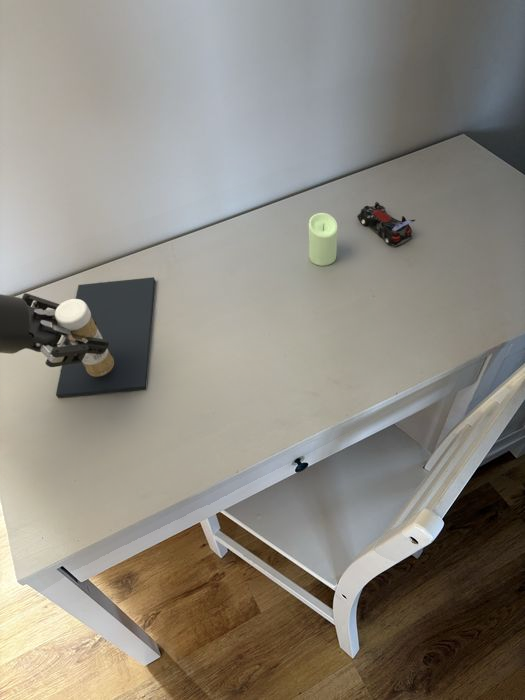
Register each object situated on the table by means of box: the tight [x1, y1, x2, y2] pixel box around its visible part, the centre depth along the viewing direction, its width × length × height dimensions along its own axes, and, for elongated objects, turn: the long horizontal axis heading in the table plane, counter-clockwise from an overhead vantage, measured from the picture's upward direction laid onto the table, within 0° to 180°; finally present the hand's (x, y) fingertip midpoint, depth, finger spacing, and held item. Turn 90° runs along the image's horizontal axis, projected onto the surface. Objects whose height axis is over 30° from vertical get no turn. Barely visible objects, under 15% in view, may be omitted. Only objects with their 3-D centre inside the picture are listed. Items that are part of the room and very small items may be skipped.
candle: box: [308, 212, 339, 267], centre depth 96 cm, size 5×5×8 cm
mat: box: [55, 276, 156, 399], centre depth 91 cm, size 24×14×1 cm, turn 4°
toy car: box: [356, 201, 416, 248], centre depth 101 cm, size 6×12×4 cm, turn 33°
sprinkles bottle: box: [55, 298, 114, 377], centre depth 79 cm, size 5×5×13 cm
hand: (99, 336), depth 80 cm, fingers closed on sprinkles bottle, 4 cm apart
